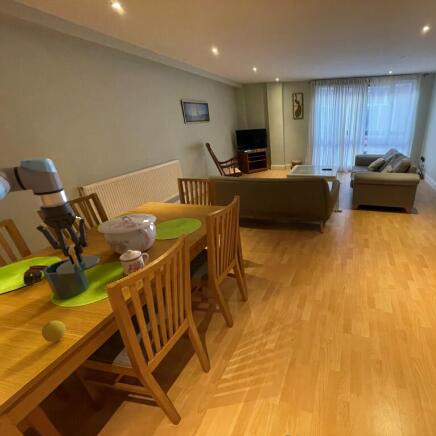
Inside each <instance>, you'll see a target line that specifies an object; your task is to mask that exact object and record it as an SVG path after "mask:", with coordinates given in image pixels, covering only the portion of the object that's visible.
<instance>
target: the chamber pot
mask: <svg viewBox="0 0 436 436" xmlns="http://www.w3.org/2000/svg"><path fill="white" fill-rule="evenodd" d="M156 221H157V217H156V216H155V215H153V214H149V213H131V214H126V215H121V216H117V217H115V218H111V219H109V220H107V221H105V222H103V223H101V224H100V225H99V226H98V227H97V231H98V233H102V234H103V235H104V236H103V239H104V241H105V243H106V245H107V246H108V247H109V249H110V250H111V251H114V252H115V253H116V254H118V255H123V254H124V253H126V252H127V251H128V250H132V251H140V252H141V253H144V252H146V251H148V249H150V248H151V247H152V246H153V245H154V243H155V240H156V238H157V228H156V225H155V224H154V223H155V222H156Z"/></svg>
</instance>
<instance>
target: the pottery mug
mask: <svg viewBox="0 0 436 436" xmlns="http://www.w3.org/2000/svg"><path fill="white" fill-rule="evenodd" d="M48 266H49V265H44V264H43V265H42V264H41V265H39V264H38V265H37V264H35V265H34V264H33V265H29V268H28V269H26V270H25V271H24V273H23V276H22V277H23V285H25V286H34V283H35V284H37V283H40V282H42V277H43V270H44V269H45V268H46V267H48Z"/></svg>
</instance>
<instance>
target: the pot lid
mask: <svg viewBox="0 0 436 436" xmlns="http://www.w3.org/2000/svg"><path fill="white" fill-rule="evenodd" d="M69 246H70V248H69V250H68V253H69V255H71V256H72V258H73V261H74V263H75V264H73V265H72V263H71V261H70V260H69V261H67V262H65V263H63V264H61V265H60V266H59V267H58V268H57V270H56V271H57V273H58V274H60V275H71V274H76V273H79V272H82V271H85V272H86V271H88V270H90V269H92V268H93V267H95V266H96V265H97V264H99V262H100V260H101V259H100V257H99V256H98V255H95V254H94V255H93V254H92V255H91V254H89V255H82V257H83V262H81V263H80V262H79V260H78V257H77V255H76V252H75V250H74V246H75V244H74V243H73V244H70V245H69Z"/></svg>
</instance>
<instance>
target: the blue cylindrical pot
mask: <svg viewBox="0 0 436 436" xmlns="http://www.w3.org/2000/svg"><path fill="white" fill-rule="evenodd" d="M69 260H70V258H67V259H62V260H59V261H56V262H53V263H51V264H50V265H47V266H48V267H46V268H45V269H44V270H43V272H42V275H44V276H43V277H45V280H46V282H47V285H48V286H49V289H50V291H51V293H52V295H53V297H54V298H55V299H57V300H67V299H71V298H75V297H77V296H79V295H81V294H83V293H84V292H86V290H88V289H89V288H90V282H89V279H88V277H87V275H86V270H85V271H82V272H79V273H76V274H71V275H60V274H58V273H57V271H56V270H57V268H58V267H59V266H60V265H61V264H63V263H65V262H67V261H69Z"/></svg>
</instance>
